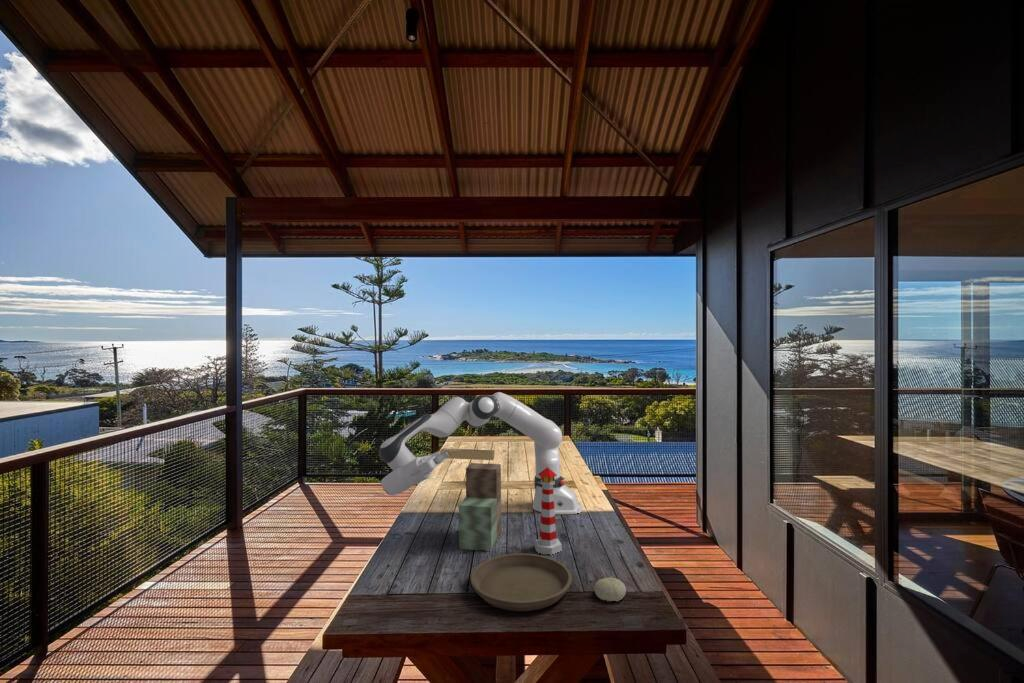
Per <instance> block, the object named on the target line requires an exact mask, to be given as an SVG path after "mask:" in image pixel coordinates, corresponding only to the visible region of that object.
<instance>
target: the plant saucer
mask: <svg viewBox="0 0 1024 683" xmlns="http://www.w3.org/2000/svg"><path fill="white" fill-rule="evenodd" d="M470 574H471V575H470V584H471V587H472V588H473V590H474V591H475V592H476V594H477V595H478V596H479V597H481V599H482V598H483V599H484V600H485V603H487V602H488V603H487V604H489V605H490V604H491V605H490V606H492V607H495V608H498V609H501V610H507V611H510V612H511V611H512V612H530V611H538V610H542V609H545V608H548V607H550V606H552V605H555V603H557V602H558V601H560V600H561V599H562V598H563V596H565V594H566V593H567V592H568V590H569V589H570V587H571V585H572V581H573V577H572V574H571V572H570V570H569V568H567V567H566V566H565V565H564V564H563V563H561V561H558V560H556V559H553V558H551V557H547V556H544V555H539V554H533V553H510V554H509V553H508V554H503V555H498V556H494V557H491V558H488V559H487V560H484V561H483V562H481V563H479V564H478V565H477V566H476V567H474V569H473V570H472V571H471V573H470ZM483 599H482V600H483ZM484 600H483V601H484Z"/></svg>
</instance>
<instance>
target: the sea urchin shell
mask: <svg viewBox="0 0 1024 683" xmlns="http://www.w3.org/2000/svg"><path fill="white" fill-rule="evenodd" d="M593 591H594V593H595V595H596V597H597V598H598V599H600V600H602V601H605V600H606V601H605V602H611V601H616V602H619V601H620V600H623V598H624V597H625V596H626V593H627V587H626V585H625V583H624V582H623V581H622V580H620V579H618V578H615V577H612V576H611V577H604V578H601V579H599V580H597V581H596V582H595V584H594V588H593Z"/></svg>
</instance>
